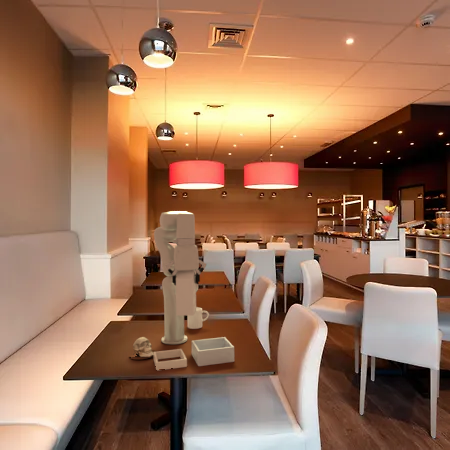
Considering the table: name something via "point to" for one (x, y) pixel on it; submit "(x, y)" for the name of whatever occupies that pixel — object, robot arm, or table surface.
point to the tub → (212, 351)
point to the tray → (171, 363)
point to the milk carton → (186, 292)
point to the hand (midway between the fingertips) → (186, 284)
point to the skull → (142, 348)
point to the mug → (196, 319)
